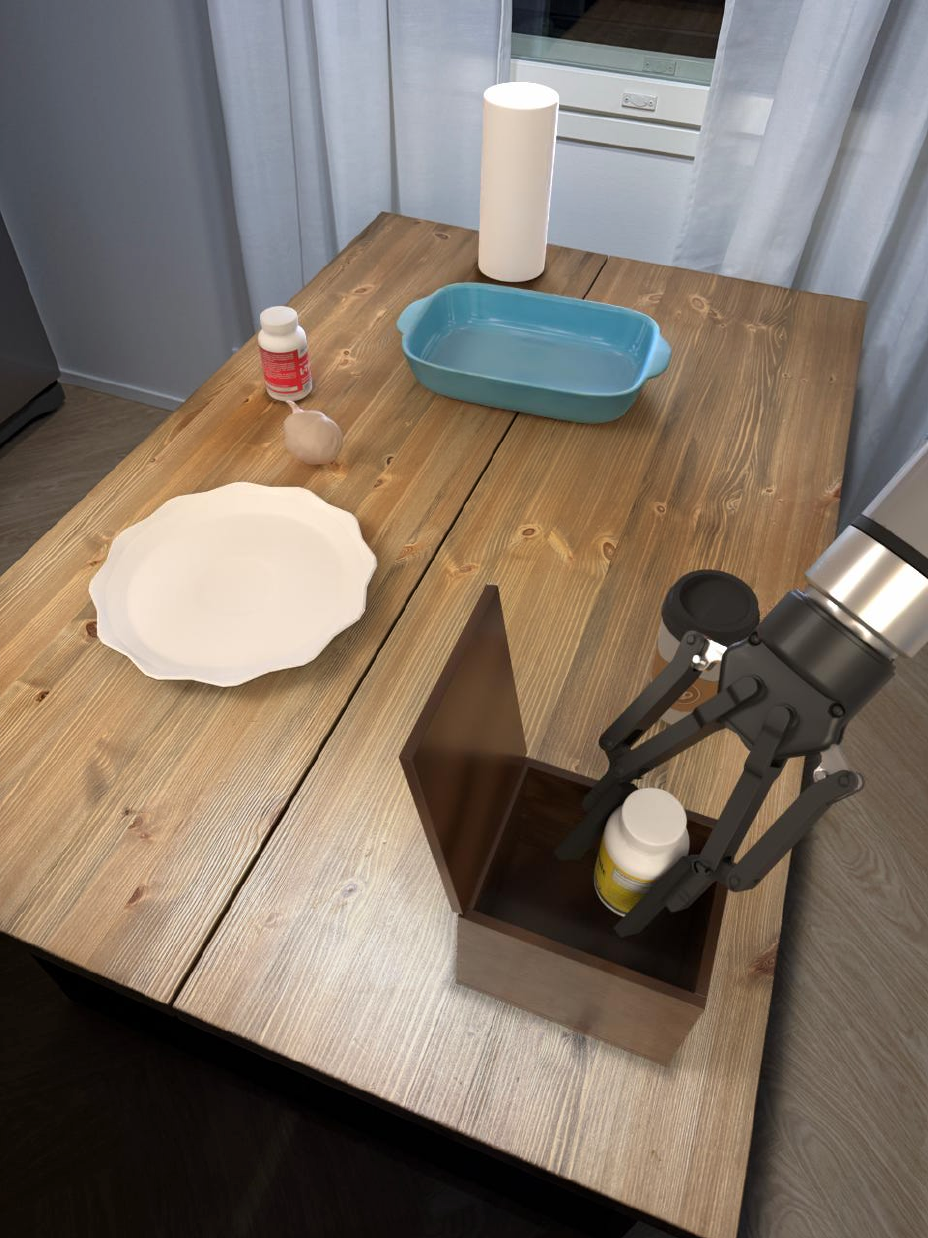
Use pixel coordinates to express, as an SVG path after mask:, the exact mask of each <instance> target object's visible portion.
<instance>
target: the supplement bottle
mask: <svg viewBox="0 0 928 1238" xmlns="http://www.w3.org/2000/svg"><path fill="white" fill-rule="evenodd" d="M684 809H685V808H684V806H683V805H682V803H681V801H680V800H679V799H678V798H677V797H676V796H674V794H672V793H670V792H669V791H667V790H664V789H662V788H659V787H651V786H650V787H643V788H639V790H636V791H634V792H633V793H631V794H630V795H629V796H628V797H627V798H626V800H625V801H624V803H623V804H622V805H621V806H619V807H618V808H617V809H616V810H615V811H614V812H613V813H612V814H611V816H610V817H609V819H608V821H607V824H606V826H605V830H604V833H603V837H602V841H601V845H600V849H599V853H598V857H597V861H596V865H595V870H594V885H595V889H596V892H597V894H598V896H599V898H600V899H601V901H602V902H603V903H604V904H605V905H606V906H607V907H608V908H609V909H610V910H612V911H613V912H615V913H616V914H618V915H621V916H623V917H624V916H625V915H626V914H627V913H628V912H629V911H630V910H631V909H632V908H633V907H634V906H635V905H636V904H637V903H638V902H639V900H640V899H641V898H642V897H643V896H644V895H645V894H646V893H647V892H648V891H649V890H650V889H651V888H652V887H653V886H654V885H655V884H656V883H657V882H658V881H659V880H660V879H661V878H662V877H663V876H664V875H665V874H666V873H667V872H668V870H669V869H670V868H671V867H672V866H673V865H674V864H675V863H676V862H677V861H678V860H679V859H680V858H681V857H682V856H687V855H688V851H689V843H690V842H689V835H688V831H687V828H686V824H687V818H686V813H685V810H684Z"/></svg>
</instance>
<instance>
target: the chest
mask: <svg viewBox="0 0 928 1238" xmlns="http://www.w3.org/2000/svg"><path fill="white" fill-rule="evenodd" d="M599 780H600V779H599ZM599 780H598V779H596V778H593V777H590V776H588V775H587V776H586V775H584V774H580V773H578V772H575V771H571V770H568V769H566V768H563V767H559V766H556V765H553V764H550V763H548V762H544V761H542V760H539V759H535V758H532V757H531V756H530V757H529V756H527V755H526V757H525V760H524V762H523V765H522V767H521V770H520V772H519V775H518V777H517V780H516V782H515V785H514V787H513V790H512V792H511V795H510V797H509V800H508V802H507V805H506V807H505V810H504V813H503V815H502V818H501V820H500V823H499V825H498V828H497V830H496V833H495V835H494V838H493V840H492V843H491V845H490V848H489V850H488V853H487V855H486V858H485V860H484V863H483V865H482V868H481V870H480V873H479V875H478V878H477V881H476V883H475V886H474V888H473V891H472V893H471V896H470V898H469V901H468V903H467V906H466V908H465V911H464V913H463V915H462V914H459V913H457V924H456V925H457V927H456V929H457V931H456V935H457V936H456V966H455V967H456V968H455V969H456V970H455V971H456V972H455V983H456V984H457V985H459V986H462V987H465V988H466V989H469V990H472V991H474V992H477V993H480V994H482V995H485V996H487V997H490V998H493V999H494V1000H497V1001H499V1002H502V1003H505V1004H508V1005H510V1006H512V1007H515V1008H517V1009H520V1010H522V1011H525V1012H526V1013H530V1014H532V1015H535V1016H537V1017H540V1018H542V1019H546V1020H548V1021H550V1022H552V1023H554V1024H558V1025H560V1026H563V1027H565V1028H568V1029H570V1030H573V1031H575V1032H578V1033H580V1034H581V1035H584V1036H588V1037H590V1038H592V1039H595V1040H598V1041H600V1042H603V1043H605V1044H608V1045H610V1046H613V1047H615V1048H617V1049H620V1050H622V1051H625V1052H628V1053H630V1054H632V1055H634V1056H636V1057H637V1056H638V1057H640V1058H643V1059H645V1060H647V1061H650V1062H652V1063H655V1064H658V1065H660V1066H663V1067H666V1068H667V1067H668V1066H669V1064H670V1063H671V1061H672V1059H673V1058H674V1057H675V1055H676V1054H677V1052H678V1051H679V1049H680V1048H681V1046H682V1045H683V1043H684V1042H685V1040H686V1039H687V1037H688V1036H689V1034H690V1033H691V1031H692V1030H693V1028H694V1026H695V1025H696V1024H697V1022H698V1021H699V1019H700V1018H701V1016H702V1015H703V1013H704V1011H705V1010H706V1005H707V1000H708V999H707V998H708V995H709V990H710V985H711V981H712V980H711V979H712V974H713V969H714V965H715V960H716V954H717V949H718V943H719V939H720V935H721V934H720V933H721V928H722V924H723V919H724V913H725V909H726V904H727V898H728V894H729V889H728V888H727V886H725V885H723V884H721V883H720V882H717V881H714V882H713V883H712V884H711V885H710V886H709V887H708V888H707V889H706V890H705V891H704V892H703V893H702V894H701V895H700V896H699V897H698V898H697V899H696V900H695V901H694V902H693V903H692V904H691V905H690V906H689V907H688V908H686V909H684V910H681V911H677V912H673V913H671V911H670V910H669V909H668V908H667V907H666V906H665V907H664V908H663V909H662V910H661V911H660V912H659V913H658V914H657V915H656V916H655V917H654V918H653V919H652V920H651V921H650V922H649V923H648V924H647V925H646V926H645V927H644V928H643V930H642V931H641V932H640V933H637V934H633V935H629V936H625V937H622V938H621V937H620V936H619V934H618V933H617V932H616V931H615V929H614V928H613V927H614V926H615V925H616V924H617V923H618V922H619V921H620V920H621V919H622V918H623V916H621V915H618V914H616V913H615V912H613V911H612V910H610V909H609V908H608V907H607V906H606V905H605V904H604V903H603V902H602V901H601V899H600V898H599V896H598V894H597V892H596V889H595V885H594V870H595V865H596V861H597V857H598V853H599V849H600V845H601V841H602V837H603V834H602V835H601V836H600V837H599V838H598V839H597V841H596V842H595V843H594V844H593V845H592V846H591V847H590V848H589V849H588V850H587V851H586V852H585V854H584V855H583V856H582V857H581V858H580V859H574V860H563V861H560V860H559V859H558V858H557V856H556V855H555V854H554V853H553V852H554V850H555V849H556V848H557V847H558V846H559V845H560V844H561V843H562V842H563V841H564V839H565V838H566V837H567V836H568V835H569V834H570V833H571V832H572V831H573V830H574V828H575V827H576V826H577V825H578V824H579V823H580V822H581V821H582V820H583V819H584V817H585V816H586V815H587V812H586V811H585V810H584V809H583V808H582V807H581V803H582V801H583V798H584V797H585V796H586V795H587V794H588V793H589V792H590V790H591V789H592V788H593V787H594V786H595V785H596V784H597V783H598V781H599ZM684 810H685V813H686V818H687V824H686V828H687V831H688V835H689V842H690V843H689V851H688V855H687V856H690V855H700V853H701V851H702V849H703V848H704V846H705V844H706V842H707V840H708V838H709V836H710V834H711V832H712V830H713V828H714V826H715V824H716V823H717V821H718V818H713V817H711V816H709V815H705V814H701V813H699V812H695V811H692V810H689V809H687V808H684ZM735 857H736V856H735ZM735 857H734V859H733V862H734V863H735Z"/></svg>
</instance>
